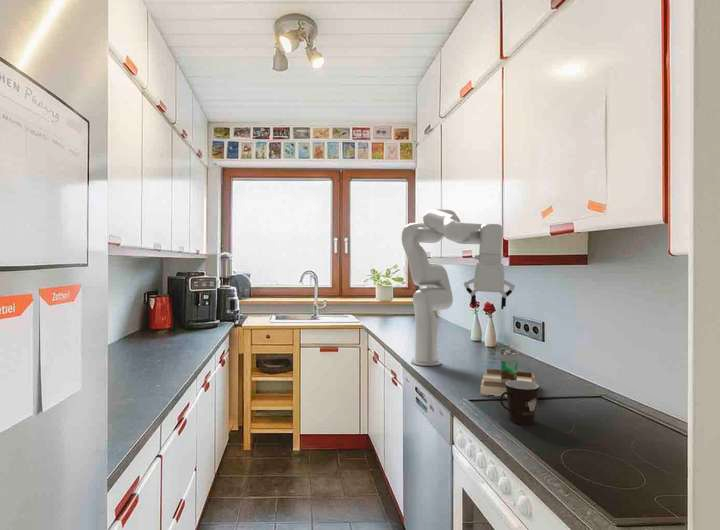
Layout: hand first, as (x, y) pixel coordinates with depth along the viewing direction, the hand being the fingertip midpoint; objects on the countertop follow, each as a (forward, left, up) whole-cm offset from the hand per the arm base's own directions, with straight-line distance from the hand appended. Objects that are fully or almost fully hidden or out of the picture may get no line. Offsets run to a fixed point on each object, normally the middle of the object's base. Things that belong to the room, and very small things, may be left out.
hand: (488, 307), depth 160 cm
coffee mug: (+35, +10, -27) cm, 45 cm away
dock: (+5, +7, -27) cm, 28 cm away
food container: (+4, +8, -24) cm, 26 cm away
